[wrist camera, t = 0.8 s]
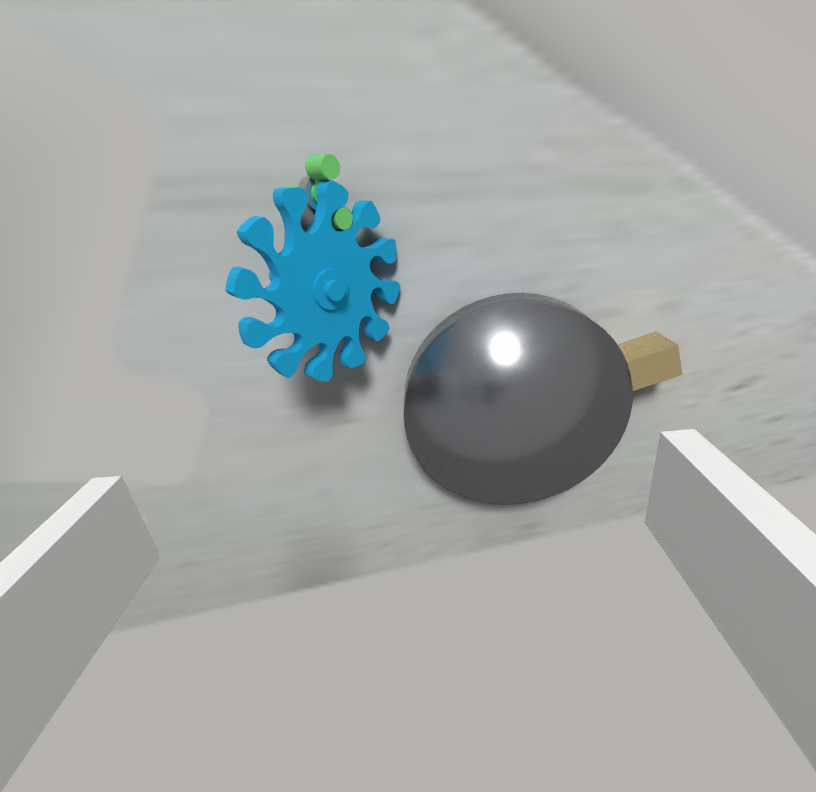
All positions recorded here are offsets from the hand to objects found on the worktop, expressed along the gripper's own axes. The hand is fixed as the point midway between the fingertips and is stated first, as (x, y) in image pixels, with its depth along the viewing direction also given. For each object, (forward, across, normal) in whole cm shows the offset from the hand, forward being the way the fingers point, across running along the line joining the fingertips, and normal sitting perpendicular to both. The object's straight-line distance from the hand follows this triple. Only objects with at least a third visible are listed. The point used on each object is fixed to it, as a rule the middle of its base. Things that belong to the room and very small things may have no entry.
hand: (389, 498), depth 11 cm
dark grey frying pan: (+18, +8, -6) cm, 20 cm away
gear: (+18, -4, +3) cm, 19 cm away
